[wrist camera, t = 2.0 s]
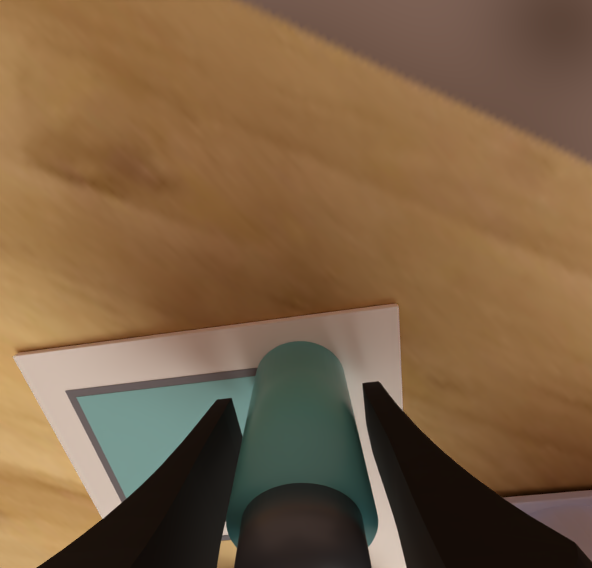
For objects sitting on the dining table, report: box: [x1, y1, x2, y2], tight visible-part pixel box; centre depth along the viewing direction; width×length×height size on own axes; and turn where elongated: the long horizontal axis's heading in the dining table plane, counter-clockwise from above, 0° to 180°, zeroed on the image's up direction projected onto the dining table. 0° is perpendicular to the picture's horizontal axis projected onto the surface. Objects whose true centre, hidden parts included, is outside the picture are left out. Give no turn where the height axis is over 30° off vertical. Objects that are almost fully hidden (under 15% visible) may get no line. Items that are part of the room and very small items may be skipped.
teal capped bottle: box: [226, 341, 378, 568], centre depth 10 cm, size 4×4×7 cm
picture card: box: [13, 303, 407, 568], centre depth 17 cm, size 17×24×1 cm
